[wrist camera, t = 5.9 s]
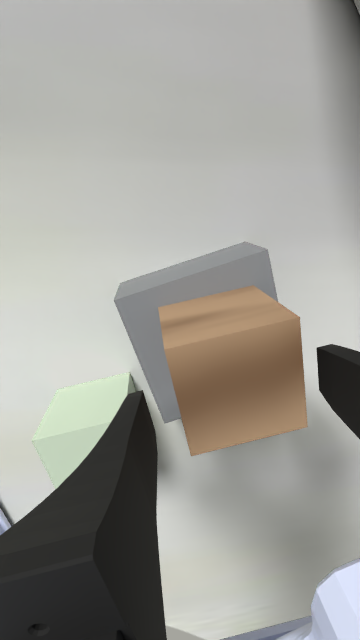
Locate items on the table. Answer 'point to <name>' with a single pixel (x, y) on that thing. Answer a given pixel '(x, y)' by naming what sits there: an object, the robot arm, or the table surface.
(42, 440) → the sage cube
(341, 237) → the table surface
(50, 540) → the robot arm
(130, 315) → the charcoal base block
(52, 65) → the table surface
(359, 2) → the coffee box
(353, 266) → the table surface
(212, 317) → the walnut cube
